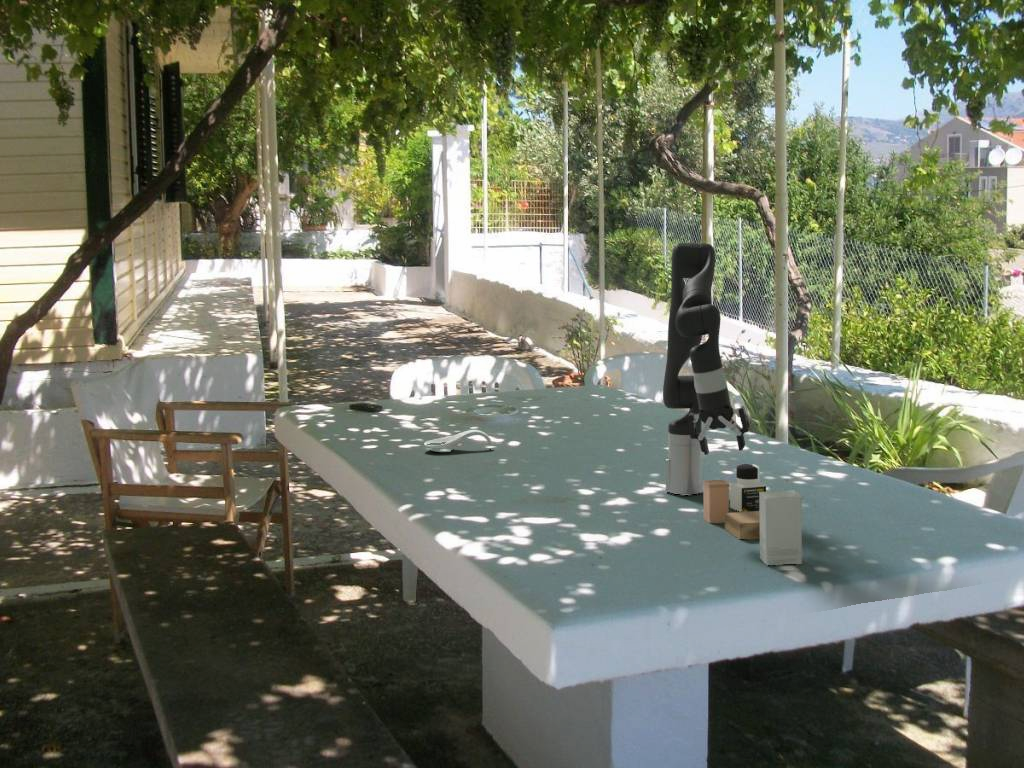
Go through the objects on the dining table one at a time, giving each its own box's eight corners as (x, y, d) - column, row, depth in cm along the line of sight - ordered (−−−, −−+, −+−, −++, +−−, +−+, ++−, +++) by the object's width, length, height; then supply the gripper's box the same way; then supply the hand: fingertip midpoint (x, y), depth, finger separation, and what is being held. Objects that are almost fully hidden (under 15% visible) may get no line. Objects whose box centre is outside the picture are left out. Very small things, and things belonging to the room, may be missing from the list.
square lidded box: (709, 523, 300) (709, 484, 299) (702, 518, 306) (702, 480, 305) (729, 522, 301) (729, 483, 300) (722, 517, 307) (722, 479, 305)
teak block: (740, 539, 284) (740, 523, 283) (724, 528, 295) (725, 513, 294) (784, 537, 285) (784, 520, 285) (767, 526, 296) (767, 510, 296)
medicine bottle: (741, 513, 310) (741, 468, 309) (729, 507, 317) (729, 463, 316) (766, 511, 312) (766, 466, 311) (754, 505, 319) (754, 461, 318)
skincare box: (794, 557, 268) (795, 489, 266) (803, 565, 261) (803, 495, 259) (757, 558, 267) (758, 490, 265) (765, 566, 261) (765, 496, 259)
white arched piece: (425, 456, 403) (425, 435, 402) (422, 450, 414) (422, 429, 413) (495, 452, 406) (494, 432, 406) (490, 447, 418) (489, 426, 417)
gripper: (743, 379, 286) (755, 443, 289) (685, 387, 292) (698, 450, 295) (737, 387, 279) (750, 453, 282) (679, 395, 285) (692, 459, 288)
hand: (723, 451), depth 288 cm, fingers open, 8 cm apart
